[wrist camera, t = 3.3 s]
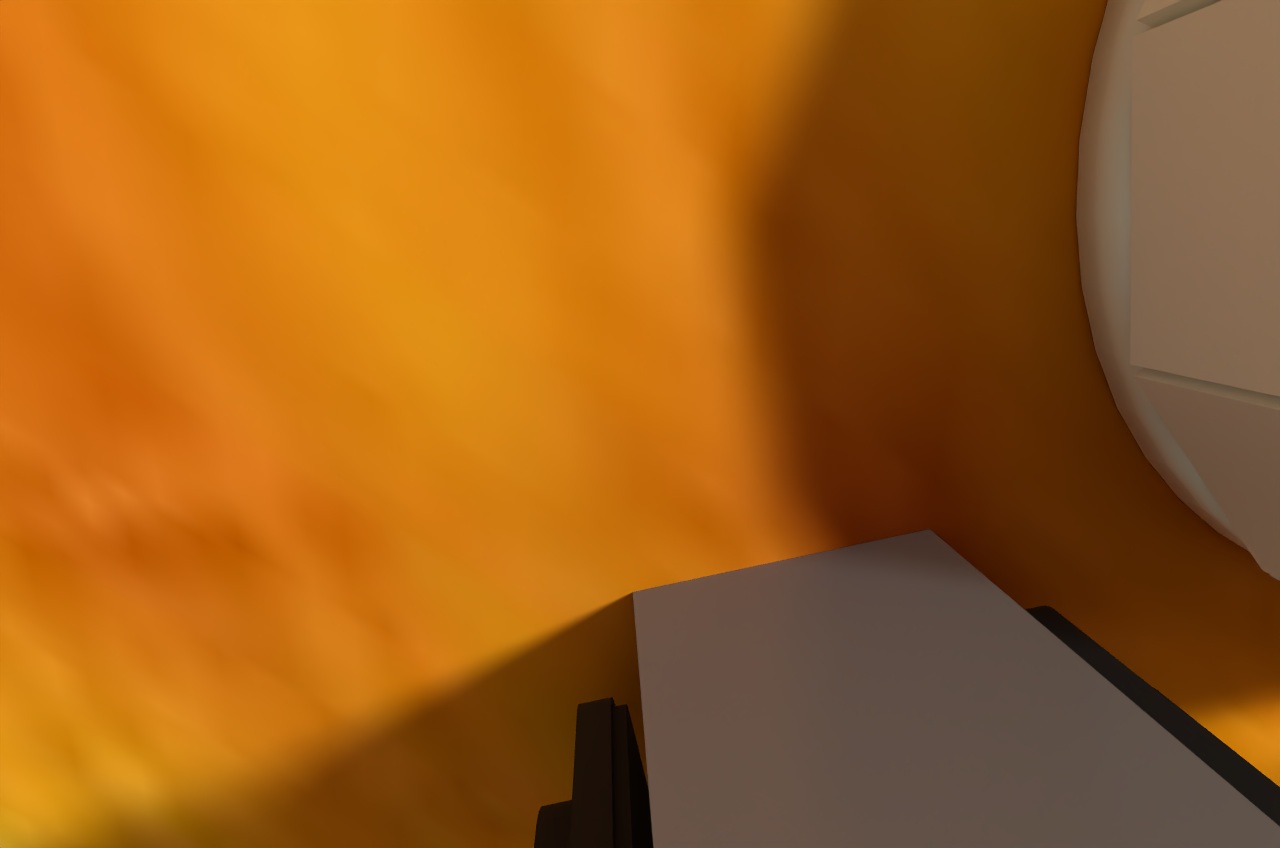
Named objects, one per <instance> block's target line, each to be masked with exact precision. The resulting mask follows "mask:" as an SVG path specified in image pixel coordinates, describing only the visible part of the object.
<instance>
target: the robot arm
mask: <svg viewBox="0 0 1280 848" xmlns="http://www.w3.org/2000/svg"><path fill="white" fill-rule="evenodd" d="M1026 611H1027V612H1028V613H1029V614H1030V615H1031V616H1033V617H1034V618H1035V619H1036V620H1037V621H1038V622H1040V623H1041V624H1042V625H1043V626H1044V627H1046V628H1047V629H1048V630H1049V631H1050V632H1051V633H1053V634H1054V635H1055V636H1056V637H1057V638H1058V639H1060V640H1061V641H1062V642H1063V643H1064V644H1066V645H1067V646H1068V647H1069V648H1070V649H1071V650H1073V651H1074V652H1075V653H1076V654H1077V655H1078V656H1080V657H1081V658H1082V659H1083V660H1084V661H1086V662H1087V663H1088V664H1089V665H1090V666H1091V667H1093V668H1094V669H1095V670H1096V671H1097V672H1098V673H1100V674H1101V675H1102V676H1103V677H1104V678H1106V679H1107V680H1108V681H1109V682H1110V683H1111V684H1113V685H1114V686H1115V687H1116V688H1117V689H1118V690H1120V691H1121V692H1122V693H1123V694H1124V695H1125V696H1127V697H1128V698H1129V699H1130V700H1131V701H1133V702H1134V703H1135V704H1136V705H1137V706H1138V707H1140V708H1141V709H1142V710H1143V711H1144V712H1145V713H1147V714H1148V715H1149V716H1150V717H1151V718H1153V719H1154V720H1155V721H1156V722H1157V723H1158V724H1160V725H1161V726H1162V727H1163V728H1164V729H1165V730H1167V731H1168V732H1169V733H1170V734H1171V735H1173V736H1174V737H1175V738H1176V739H1177V740H1178V741H1180V742H1181V743H1182V744H1183V745H1184V746H1185V747H1187V748H1188V749H1189V750H1190V751H1191V752H1193V753H1194V754H1195V755H1196V756H1197V757H1198V758H1200V759H1201V760H1202V761H1203V762H1204V763H1205V764H1207V765H1208V766H1209V767H1210V768H1211V769H1213V770H1214V771H1215V772H1216V773H1217V774H1218V775H1220V776H1221V777H1222V778H1223V779H1224V780H1225V781H1227V782H1228V783H1229V784H1230V785H1231V786H1233V787H1234V788H1235V789H1236V790H1237V791H1238V792H1240V793H1241V794H1242V795H1243V796H1244V797H1245V798H1247V799H1248V800H1249V801H1250V802H1251V803H1253V804H1254V805H1255V806H1256V807H1257V808H1258V809H1260V810H1261V811H1262V812H1263V813H1264V814H1265V815H1267V816H1268V817H1269V818H1270V819H1271V820H1273V821H1274V822H1275V823H1276V824H1277V825H1278V826H1280V787H1279V786H1278V785H1276V784H1275V783H1274V782H1273V781H1271V780H1270V779H1269V778H1267V777H1266V776H1265V775H1264V774H1262V773H1261V772H1260V771H1259V770H1257V769H1256V768H1255V767H1254V766H1252V765H1251V764H1250V763H1249V762H1247V761H1246V760H1245V759H1243V758H1242V757H1241V756H1240V755H1238V754H1237V753H1236V752H1235V751H1233V750H1232V749H1231V748H1230V747H1228V746H1227V745H1226V744H1225V743H1223V742H1222V741H1221V740H1220V739H1218V738H1217V737H1216V736H1214V735H1213V734H1212V733H1211V732H1209V731H1208V730H1207V729H1206V728H1204V727H1203V726H1202V725H1201V724H1199V723H1198V722H1197V721H1196V720H1194V719H1193V718H1192V717H1190V716H1189V715H1188V714H1187V713H1185V712H1184V711H1183V710H1182V709H1180V708H1179V707H1178V706H1177V705H1175V704H1174V703H1173V702H1172V701H1170V700H1169V699H1168V698H1167V697H1165V696H1164V695H1163V694H1161V693H1160V692H1159V691H1158V690H1156V689H1155V688H1153V687H1151V686H1150V685H1149V684H1148V683H1146V682H1145V681H1144V680H1143V679H1141V678H1140V677H1139V676H1137V675H1136V674H1135V673H1134V672H1132V671H1131V670H1130V669H1129V668H1127V667H1126V666H1125V665H1124V664H1122V663H1121V662H1120V661H1119V660H1117V659H1116V658H1115V657H1114V656H1112V655H1111V654H1110V653H1109V652H1107V651H1106V650H1105V649H1103V648H1102V647H1101V646H1100V645H1098V644H1097V643H1096V642H1095V641H1093V640H1092V639H1091V638H1090V637H1088V636H1087V635H1086V634H1085V633H1083V632H1082V631H1081V630H1080V629H1078V628H1077V627H1076V626H1075V625H1073V624H1072V623H1071V622H1070V621H1068V620H1067V619H1066V618H1064V617H1063V616H1062V615H1061V614H1059V613H1058V612H1057V611H1056V610H1054V609H1053V608H1051V607H1049V606H1040V607H1035V608H1031V609H1026ZM534 848H654V847H653V835H652V822H651V810H650V798H649V790H648V786H647V782H646V777H645V773H644V769H643V765H642V761H641V757H640V753H639V749H638V745H637V741H636V737H635V733H634V729H633V725H632V721H631V717H630V713H629V710H628V706H627V704H624V705H620V706H615V703H614V700H613V698H612V697H610V698H606V699H601V700H596V701H592V702H587V703H582V704H579V705H578V709H577V724H576V741H575V759H574V776H573V793H572V800H570V801H565V802H560V803H556V804H551V805H546V806H542V807H541V809H540V811H539V814H538V819H537V826H536V835H535V843H534Z"/></svg>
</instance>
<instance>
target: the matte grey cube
mask: <svg viewBox="0 0 1280 848" xmlns="http://www.w3.org/2000/svg"><path fill="white" fill-rule="evenodd" d="M633 602H634V615H635V627H636V639H637V651H638V663H639V676H640V688H641V700H642V712H643V725H644V737H645V749H646V761H647V774H648V786H649V798H650V810H651V822H652V835H653V847H654V848H1280V826H1278V825H1277V824H1276V823H1275V822H1274V821H1273V820H1271V819H1270V818H1269V817H1268V816H1267V815H1265V814H1264V813H1263V812H1262V811H1261V810H1260V809H1258V808H1257V807H1256V806H1255V805H1254V804H1253V803H1251V802H1250V801H1249V800H1248V799H1247V798H1245V797H1244V796H1243V795H1242V794H1241V793H1240V792H1238V791H1237V790H1236V789H1235V788H1234V787H1233V786H1231V785H1230V784H1229V783H1228V782H1227V781H1225V780H1224V779H1223V778H1222V777H1221V776H1220V775H1218V774H1217V773H1216V772H1215V771H1214V770H1213V769H1211V768H1210V767H1209V766H1208V765H1207V764H1205V763H1204V762H1203V761H1202V760H1201V759H1200V758H1198V757H1197V756H1196V755H1195V754H1194V753H1193V752H1191V751H1190V750H1189V749H1188V748H1187V747H1185V746H1184V745H1183V744H1182V743H1181V742H1180V741H1178V740H1177V739H1176V738H1175V737H1174V736H1173V735H1171V734H1170V733H1169V732H1168V731H1167V730H1165V729H1164V728H1163V727H1162V726H1161V725H1160V724H1158V723H1157V722H1156V721H1155V720H1154V719H1153V718H1151V717H1150V716H1149V715H1148V714H1147V713H1145V712H1144V711H1143V710H1142V709H1141V708H1140V707H1138V706H1137V705H1136V704H1135V703H1134V702H1133V701H1131V700H1130V699H1129V698H1128V697H1127V696H1125V695H1124V694H1123V693H1122V692H1121V691H1120V690H1118V689H1117V688H1116V687H1115V686H1114V685H1113V684H1111V683H1110V682H1109V681H1108V680H1107V679H1106V678H1104V677H1103V676H1102V675H1101V674H1100V673H1098V672H1097V671H1096V670H1095V669H1094V668H1093V667H1091V666H1090V665H1089V664H1088V663H1087V662H1086V661H1084V660H1083V659H1082V658H1081V657H1080V656H1078V655H1077V654H1076V653H1075V652H1074V651H1073V650H1071V649H1070V648H1069V647H1068V646H1067V645H1066V644H1064V643H1063V642H1062V641H1061V640H1060V639H1058V638H1057V637H1056V636H1055V635H1054V634H1053V633H1051V632H1050V631H1049V630H1048V629H1047V628H1046V627H1044V626H1043V625H1042V624H1041V623H1040V622H1038V621H1037V620H1036V619H1035V618H1034V617H1033V616H1031V615H1030V614H1029V613H1028V612H1027V611H1026V610H1024V609H1023V608H1022V607H1021V606H1020V605H1018V604H1017V603H1016V602H1015V601H1014V600H1013V599H1011V598H1010V597H1009V596H1008V595H1007V594H1006V593H1004V592H1003V591H1002V590H1001V589H1000V588H998V587H997V586H996V585H995V584H994V583H993V582H991V581H990V580H989V579H988V578H987V577H986V576H984V575H983V574H982V573H981V572H980V571H978V570H977V569H976V568H975V567H974V566H973V565H971V564H970V563H969V562H968V561H967V560H966V559H964V558H963V557H962V556H961V555H960V554H958V553H957V552H956V551H955V550H954V549H953V548H951V547H950V546H949V545H948V544H947V543H946V542H944V541H943V540H942V539H941V538H940V537H938V536H937V535H936V534H935V533H934V532H933V531H931V530H930V529H928V530H923V531H918V532H914V533H909V534H904V535H899V536H895V537H890V538H885V539H881V540H876V541H871V542H866V543H862V544H857V545H852V546H848V547H843V548H838V549H834V550H829V551H824V552H819V553H815V554H810V555H805V556H801V557H796V558H791V559H786V560H782V561H777V562H772V563H768V564H763V565H758V566H753V567H749V568H744V569H739V570H735V571H730V572H725V573H721V574H716V575H711V576H706V577H702V578H697V579H692V580H688V581H683V582H678V583H673V584H669V585H664V586H659V587H655V588H650V589H645V590H641V591H636V592H633Z"/></svg>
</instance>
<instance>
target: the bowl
mask: <svg viewBox="0 0 1280 848" xmlns="http://www.w3.org/2000/svg"><path fill="white" fill-rule="evenodd" d="M1076 222H1077V234H1078V247H1079V260H1080V272H1081V285H1082V291H1083V295H1084V300H1085V304H1086V309H1087V314H1088V318H1089V323H1090V327H1091V332H1092V337H1093V341H1094V346H1095V350H1096V353H1097V356H1098V359H1099V361H1100V364H1101V366H1102V369H1103V372H1104V374H1105V377H1106V380H1107V382H1108V385H1109V388H1110V390H1111V393H1112V396H1113V398H1114V401H1115V404H1116V406H1117V408H1118V410H1119V412H1120V414H1121V415H1122V417H1123V419H1124V421H1125V422H1126V424H1127V426H1128V428H1129V430H1130V431H1131V433H1132V435H1133V437H1134V438H1135V440H1136V442H1137V444H1138V445H1139V447H1140V449H1141V451H1142V452H1143V454H1144V456H1145V457H1146V459H1147V460H1148V461H1149V462H1150V464H1151V465H1152V466H1153V467H1154V468H1155V470H1156V471H1157V472H1158V473H1159V475H1160V476H1161V477H1162V478H1163V480H1164V481H1165V482H1166V483H1167V484H1168V486H1169V487H1170V488H1171V489H1172V491H1173V492H1174V493H1175V494H1176V496H1177V497H1178V498H1179V499H1180V500H1181V501H1182V502H1183V503H1185V504H1186V505H1187V506H1188V507H1189V508H1190V509H1191V510H1193V511H1194V512H1195V513H1196V514H1197V515H1198V516H1199V517H1201V518H1202V519H1203V520H1204V521H1205V522H1206V523H1207V524H1209V525H1210V526H1211V527H1212V528H1213V529H1214V530H1215V531H1217V532H1218V533H1219V534H1221V535H1223V536H1224V537H1226V538H1227V539H1229V540H1231V541H1232V542H1234V543H1236V544H1237V545H1239V546H1241V547H1242V548H1244V549H1245V550H1247V551H1249V552H1250V553H1251V554H1252V556H1253V557H1254V559H1255V560H1256V562H1257V563H1258V565H1259V566H1260V568H1261V569H1262V570H1263V571H1265V572H1267V573H1269V574H1271V575H1270V576H1271V577H1273V578H1275V579H1277V580H1279V581H1280V0H1108V3H1107V6H1106V10H1105V14H1104V17H1103V21H1102V24H1101V28H1100V32H1099V35H1098V39H1097V42H1096V46H1095V50H1094V53H1093V58H1092V64H1091V71H1090V77H1089V83H1088V89H1087V95H1086V101H1085V108H1084V114H1083V120H1082V126H1081V132H1080V139H1079V161H1078V183H1077V205H1076Z"/></svg>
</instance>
